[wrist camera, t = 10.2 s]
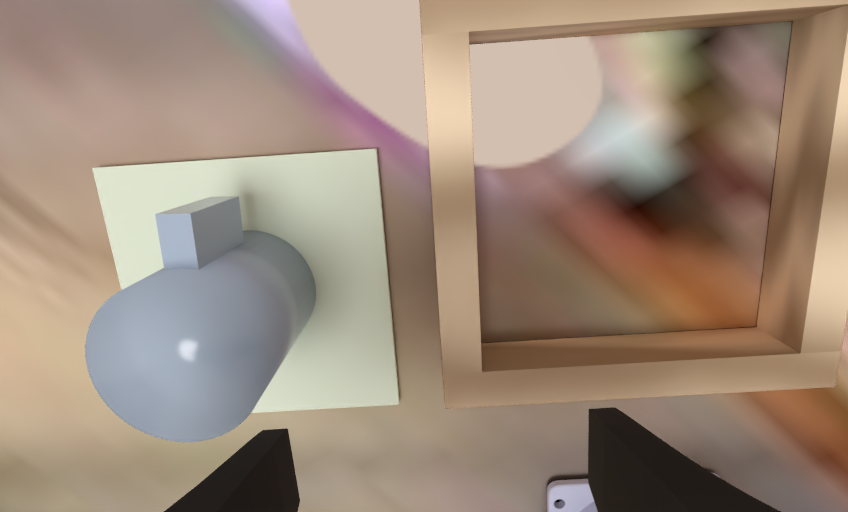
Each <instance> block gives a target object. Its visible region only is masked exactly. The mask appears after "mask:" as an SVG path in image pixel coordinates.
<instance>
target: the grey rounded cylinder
mask: <svg viewBox="0 0 848 512" xmlns="http://www.w3.org/2000/svg"><path fill="white" fill-rule="evenodd" d="M155 217H156V223H157V229H158V235H159V241H160V247H161V253H162V259H163V265H164V268H162V269H161V270H159V271H157V272H155V273H153V274H151V275H149V276H147V277H145V278H144V279H142V280H140V281H138V282H136V283H134V284H132V285H130V286H128V287H127V288H125V289H123V290H121V291H119V292H117V293H116V294H115V295H113V296H112V297H111V298H109V299H108V300H107V301H106V302H105V303H104V304H103V305H102V306H101V307H100V309H99V310H98V311H97V313H96V314H95V316H94V318H93V320H92V322H91V324H90V326H89V330H88V333H87V338H86V345H85V356H86V363H87V368H88V371H89V375H90V378H91V380H92V382H93V385H94V387H95V389H96V390H97V392H98V394H99V395H100V397H101V398H102V399H103V401H104V402H105V403H106V405H107V406H108V407H109V408H110V409H111V410H112V411H113V412H114V413H115V414H116V415H117V416H119V417H120V418H121V419H122V420H123V421H125V422H126V423H128V424H129V425H131V426H132V427H134V428H136V429H138V430H140V431H142V432H144V433H146V434H149V435H151V436H154V437H157V438H161V439H165V440H170V441H176V442H197V441H204V440H209V439H212V438H215V437H218V436H221V435H223V434H225V433H227V432H229V431H231V430H232V429H234V428H235V427H237V426H238V425H240V424H241V423H242V422H243V421H244V420H245V419H246V418H247V417H248V416H249V414H250V413H251V412H252V411H253V409H254V407H255V406H256V404H257V403H258V401H259V399H260V398H261V396H262V394H263V393H264V391H265V390H266V388H267V386H268V385H269V383H270V382H271V380H272V378H273V377H274V375H275V373H276V372H277V370H278V369H279V367H280V365H281V364H282V362H283V360H284V359H285V357H286V356H287V354H288V352H289V351H290V349H291V347H292V346H293V344H294V343H295V341H296V339H297V338H298V336H299V334H300V333H301V331H302V330H303V328H304V326H305V325H306V323H307V321H308V320H309V318H310V316H311V314H312V312H313V309H314V305H315V299H316V287H315V281H314V277H313V274H312V272H311V269H310V267H309V265H308V264H307V262H306V260H305V259H304V258H303V256H302V255H301V254H300V253H299V252H298V251H297V250H296V249H295V248H294V247H293V246H292V245H290V244H289V243H288V242H286V241H285V240H283V239H281V238H279V237H277V236H275V235H273V234H269V233H266V232H261V231H252V230H246V231H243V227H242V219H241V210H240V202H239V196H218V197H208V198H205V199H202V200H198V201H195V202H192V203H189V204H186V205H182V206H179V207H176V208H173V209H170V210H167V211H163V212H160V213H157V214H155Z"/></svg>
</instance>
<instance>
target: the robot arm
mask: <svg viewBox="0 0 848 512" xmlns="http://www.w3.org/2000/svg"><path fill="white" fill-rule="evenodd" d="M558 499H562V500H561V501H560V502H555V501H556V500H558ZM299 502H300V498H299V492H298V487H297V481H296V475H295V469H294V463H293V457H292V451H291V446H290V440H289V434H288V429H274V430H262V431H261V432H260V433H258V434H257V435H256V436H255V437H253V438H252V439H251V440H250V441H249V442H247V443H246V444H245V445H244V446H243V447H242V448H240V449H239V450H238V451H237V452H236V453H235V454H234V455H232V456H231V457H230V458H229V459H228V460H227V461H226V462H224V463H223V464H222V465H221V466H220V467H218V468H217V469H216V470H215V471H214V472H213V473H211V474H210V475H209V476H208V477H207V478H206V479H204V480H203V481H202V482H201V483H200V484H198V485H197V486H196V487H195V488H193V489H192V490H191V491H190V492H188V493H187V494H186V495H185V496H183V497H182V498H181V499H180V500H178V501H177V502H176V503H174V504H173V505H172V506H171V507H169V508H168V509H167V510H166V511H164V512H297V511H298V507H299ZM547 512H780V511H778V510H776V509H774V508H772V507H771V506H769V505H767V504H765V503H763V502H761V501H759V500H757V499H755V498H753V497H752V496H750V495H748V494H746V493H744V492H743V491H741V490H739V489H737V488H736V487H734V486H732V485H731V484H729V483H727V482H726V481H724V480H722V479H721V478H720V477H719V475H718V474H716V473H712V472H709V471H708V470H706V469H704V468H703V467H701V466H700V465H698V464H697V463H695V462H693V461H692V460H690V459H689V458H687V457H686V456H684V455H683V454H681V453H680V452H678V451H677V450H675V449H674V448H673V447H671V446H670V445H668V444H667V443H665V442H664V441H662V440H661V439H660V438H658V437H657V436H655V435H654V434H652V433H651V432H650V431H648V430H647V429H645V428H644V427H643V426H641V425H640V424H638V423H637V422H636V421H634V420H633V419H631V418H630V417H628V416H627V415H626V414H624V413H623V412H621V411H620V410H618V409H616V408H599V409H589V450H588V479H573V480H557V481H553V482H551V483H550V484H549V485H548V487H547Z"/></svg>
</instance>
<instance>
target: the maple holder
mask: <svg viewBox="0 0 848 512" xmlns="http://www.w3.org/2000/svg"><path fill="white" fill-rule="evenodd" d="M419 1H420V17H421V34H422V50H423V65H424V82H425V98H426V113H427V128H428V146H429V162H430V178H431V194H432V210H433V226H434V242H435V258H436V274H437V290H438V306H439V322H440V338H441V354H442V370H443V385H444V400H445V409H451V408H469V407H486V406H504V405H522V404H540V403H558V402H575V401H593V400H611V399H629V398H646V397H664V396H682V395H700V394H718V393H735V392H753V391H771V390H789V389H807V388H824V387H835V384H836V378H837V372H838V366H839V361H840V355H841V349H842V343H843V337H844V331H845V325H846V319H847V313H848V0H419ZM787 21H793V24H792V33H791V41H790V50H789V58H788V66H787V75H786V83H785V92H784V100H783V108H782V117H781V125H780V134H779V142H778V151H777V159H776V167H775V176H774V184H773V193H772V201H771V209H770V218H769V226H768V235H767V243H766V251H765V260H764V268H763V277H762V285H761V294H760V302H759V310H758V319H757V327H750V328H733V329H716V330H699V331H682V332H665V333H648V334H631V335H614V336H597V337H580V338H563V339H546V340H529V341H512V342H495V343H481V331H480V306H479V280H478V255H477V229H476V204H475V178H474V153H473V127H472V104H471V103H472V102H471V77H470V51H469V44H483V43H496V42H511V41H524V40H538V39H552V38H566V37H579V36H594V35H608V34H621V33H635V32H649V31H663V30H677V29H691V28H704V27H718V26H732V25H746V24H760V23H774V22H787Z"/></svg>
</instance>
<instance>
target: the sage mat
mask: <svg viewBox="0 0 848 512" xmlns="http://www.w3.org/2000/svg"><path fill="white" fill-rule="evenodd" d="M92 169H93V173H94V178H95V182H96V186H97V190H98V194H99V198H100V203H101V207H102V211H103V215H104V219H105V223H106V228H107V232H108V236H109V240H110V244H111V248H112V253H113V257H114V261H115V265H116V269H117V274H118V278H119V282H120V286H121V290H123V289H125V288H127V287H128V286H130V285H132V284H134V283H136V282H138V281H140V280H142V279H144V278H145V277H147V276H149V275H151V274H153V273H155V272H157V271H159V270H161V269H162V268H164V265H163V259H162V253H161V247H160V241H159V235H158V229H157V223H156V217H155V214H157V213H160V212H163V211H167V210H170V209H173V208H176V207H179V206H182V205H186V204H189V203H192V202H195V201H198V200H202V199H205V198H208V197H218V196H239V202H240V210H241V219H242V227H243V231H246V230H252V231H261V232H266V233H269V234H273V235H275V236H277V237H279V238H281V239H283V240H285V241H286V242H288V243H289V244H290V245H292V246H293V247H294V248H295V249H296V250H297V251H298V252H299V253H300V254H301V255H302V256H303V258H304V259H305V260H306V262H307V264H308V265H309V267H310V269H311V272H312V274H313V277H314V281H315V287H316V299H315V305H314V309H313V312H312V314H311V316H310V318H309V320H308V321H307V323H306V325H305V326H304V328H303V330H302V331H301V333H300V334H299V336H298V338H297V339H296V341H295V343H294V344H293V346H292V347H291V349H290V351H289V352H288V354H287V356H286V357H285V359H284V360H283V362H282V364H281V365H280V367H279V369H278V370H277V372H276V373H275V375H274V377H273V378H272V380H271V382H270V383H269V385H268V386H267V388H266V390H265V391H264V393H263V394H262V396H261V398H260V399H259V401H258V403H257V404H256V406H255V407H254V409H253V411H252V412H251V413H258V412H276V411H294V410H312V409H329V408H347V407H365V406H382V405H399V400H400V399H399V388H398V377H397V366H396V354H395V343H394V332H393V321H392V310H391V298H390V287H389V276H388V265H387V253H386V242H385V231H384V220H383V209H382V197H381V186H380V175H379V164H378V153H377V148H375V149H360V150H345V151H331V152H316V153H301V154H287V155H272V156H257V157H242V158H228V159H213V160H198V161H184V162H169V163H154V164H139V165H125V166H110V167H97V168H92Z"/></svg>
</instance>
